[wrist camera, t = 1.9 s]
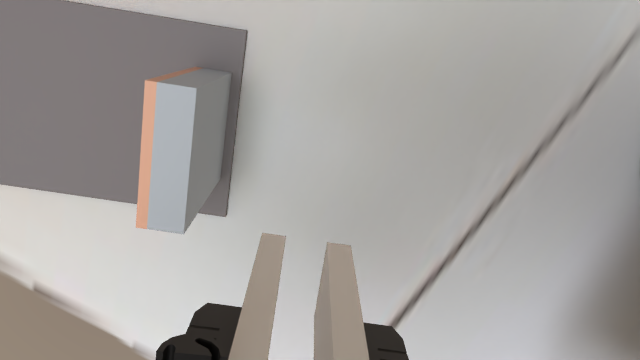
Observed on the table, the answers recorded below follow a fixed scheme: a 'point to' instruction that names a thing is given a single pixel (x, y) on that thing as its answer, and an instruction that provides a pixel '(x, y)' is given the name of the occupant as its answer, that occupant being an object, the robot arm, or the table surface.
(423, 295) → the table surface
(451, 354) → the table surface
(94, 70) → the mat
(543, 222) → the table surface
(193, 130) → the slab
